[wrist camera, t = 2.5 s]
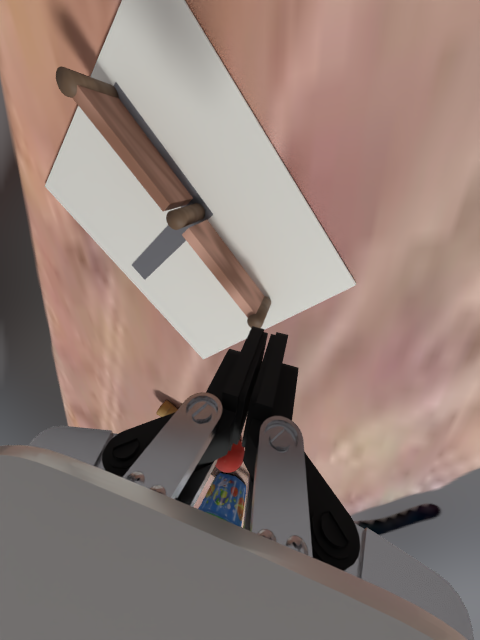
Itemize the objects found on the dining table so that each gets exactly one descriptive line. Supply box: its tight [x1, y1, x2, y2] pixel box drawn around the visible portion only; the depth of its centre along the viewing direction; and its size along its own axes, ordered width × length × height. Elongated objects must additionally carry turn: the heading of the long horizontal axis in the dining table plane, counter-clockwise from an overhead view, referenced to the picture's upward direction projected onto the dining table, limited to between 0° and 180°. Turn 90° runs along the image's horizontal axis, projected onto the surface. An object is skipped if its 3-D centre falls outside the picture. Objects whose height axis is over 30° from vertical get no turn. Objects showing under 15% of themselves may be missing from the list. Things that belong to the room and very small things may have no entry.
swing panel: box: [182, 220, 271, 328], centre depth 24 cm, size 11×2×4 cm, turn 40°
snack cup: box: [198, 473, 246, 527], centre depth 52 cm, size 16×10×10 cm
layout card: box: [45, 0, 356, 359], centre depth 26 cm, size 23×29×1 cm
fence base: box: [56, 67, 205, 230], centre depth 21 cm, size 2×13×5 cm, turn 40°
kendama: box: [157, 400, 245, 473], centre depth 44 cm, size 8×6×18 cm
